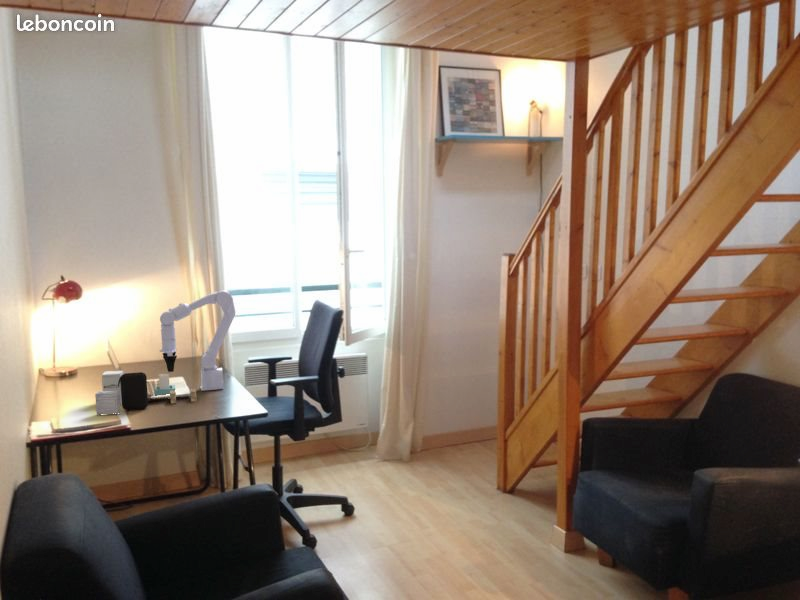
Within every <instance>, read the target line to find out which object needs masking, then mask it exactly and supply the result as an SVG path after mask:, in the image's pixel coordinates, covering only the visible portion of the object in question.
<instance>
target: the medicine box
mask: <svg viewBox="0 0 800 600" xmlns="http://www.w3.org/2000/svg"><path fill="white" fill-rule="evenodd" d="M94 396H95V408H96V416H97V415H101V414H113V413H114V414H115V413H116V414H118V413H119V414H120V413H121V412H122V404H120V391H103V390H102V391H97V393H95V394H94ZM119 414H118V415H119ZM101 416H102V415H101Z"/></svg>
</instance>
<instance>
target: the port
mask: <svg viewBox="0 0 800 600" xmlns="http://www.w3.org/2000/svg"><path fill="white" fill-rule="evenodd" d="M169 386H170V389H160V387H159V385H156V386H154V387H153V389H154V390H153V391H154V394H155V396H157V395H166V394H170V391H173V390H176V385H175V384H169Z"/></svg>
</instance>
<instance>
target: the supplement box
mask: <svg viewBox="0 0 800 600" xmlns="http://www.w3.org/2000/svg"><path fill="white" fill-rule="evenodd" d="M123 374H124V370H110V371H109V370H108V371H104V372H103V373H102V374H101V382H102V388H101V389H102V391H120V404H121V405H122V398H121V384H119V386H118V382H119V379H120V377H121V376H122V375H123Z"/></svg>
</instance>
